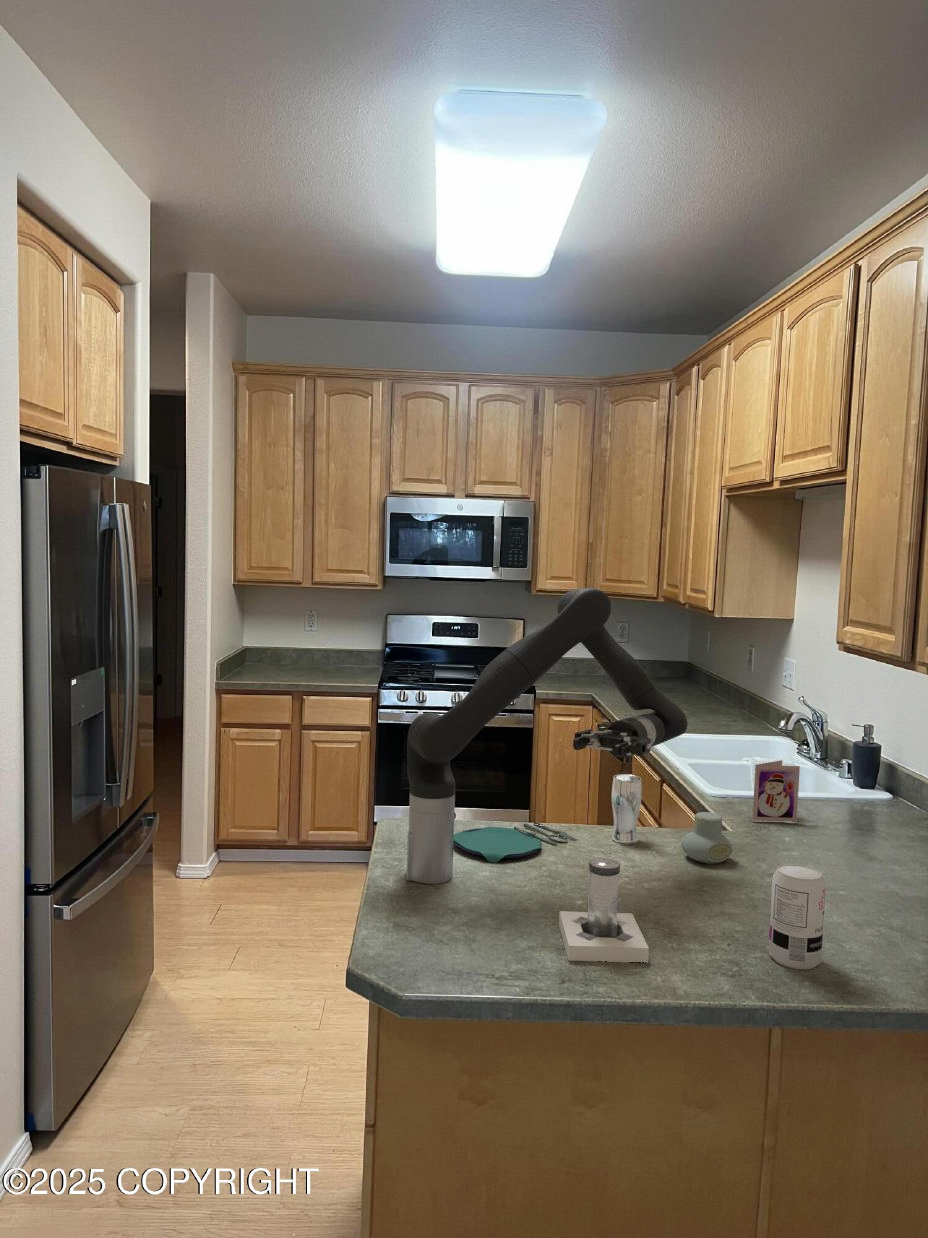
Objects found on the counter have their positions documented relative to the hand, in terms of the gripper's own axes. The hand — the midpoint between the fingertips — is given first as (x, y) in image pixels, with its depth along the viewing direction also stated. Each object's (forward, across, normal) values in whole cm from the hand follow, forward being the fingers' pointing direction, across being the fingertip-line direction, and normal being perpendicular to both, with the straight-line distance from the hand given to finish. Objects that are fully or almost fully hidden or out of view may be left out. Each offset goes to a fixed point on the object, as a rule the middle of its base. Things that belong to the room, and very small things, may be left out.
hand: (595, 748), depth 163 cm
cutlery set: (-21, -30, +31) cm, 48 cm away
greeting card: (-82, +11, +30) cm, 88 cm away
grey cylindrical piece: (+14, +10, +30) cm, 35 cm away
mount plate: (+14, +10, +30) cm, 35 cm away
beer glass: (-40, -11, +30) cm, 52 cm away
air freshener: (-40, +9, +30) cm, 51 cm away
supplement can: (0, +38, +30) cm, 48 cm away
